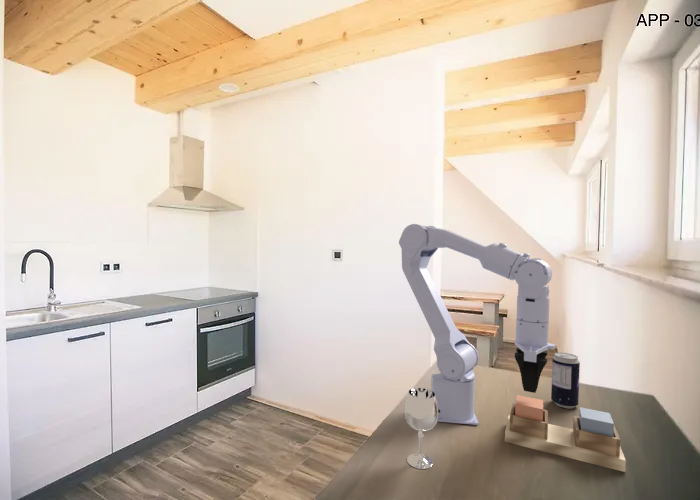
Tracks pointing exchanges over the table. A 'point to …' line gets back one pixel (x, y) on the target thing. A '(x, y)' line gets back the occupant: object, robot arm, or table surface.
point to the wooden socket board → (565, 441)
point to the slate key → (596, 422)
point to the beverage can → (565, 380)
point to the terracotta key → (529, 408)
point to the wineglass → (421, 420)
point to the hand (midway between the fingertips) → (530, 388)
